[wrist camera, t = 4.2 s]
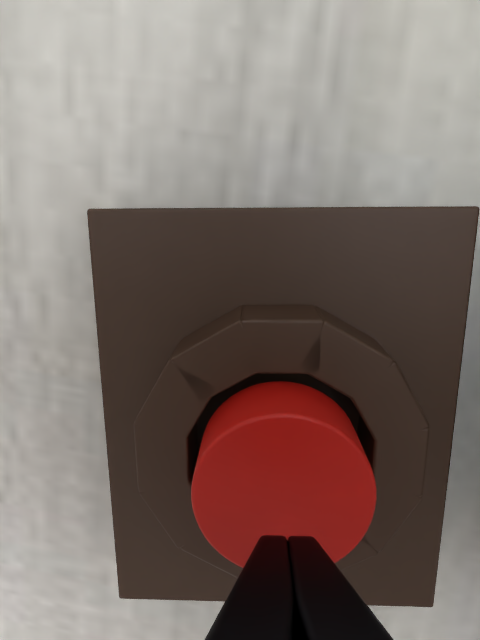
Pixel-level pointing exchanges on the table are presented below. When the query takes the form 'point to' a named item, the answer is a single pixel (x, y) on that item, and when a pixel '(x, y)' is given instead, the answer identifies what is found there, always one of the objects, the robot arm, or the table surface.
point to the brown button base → (279, 369)
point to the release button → (282, 472)
